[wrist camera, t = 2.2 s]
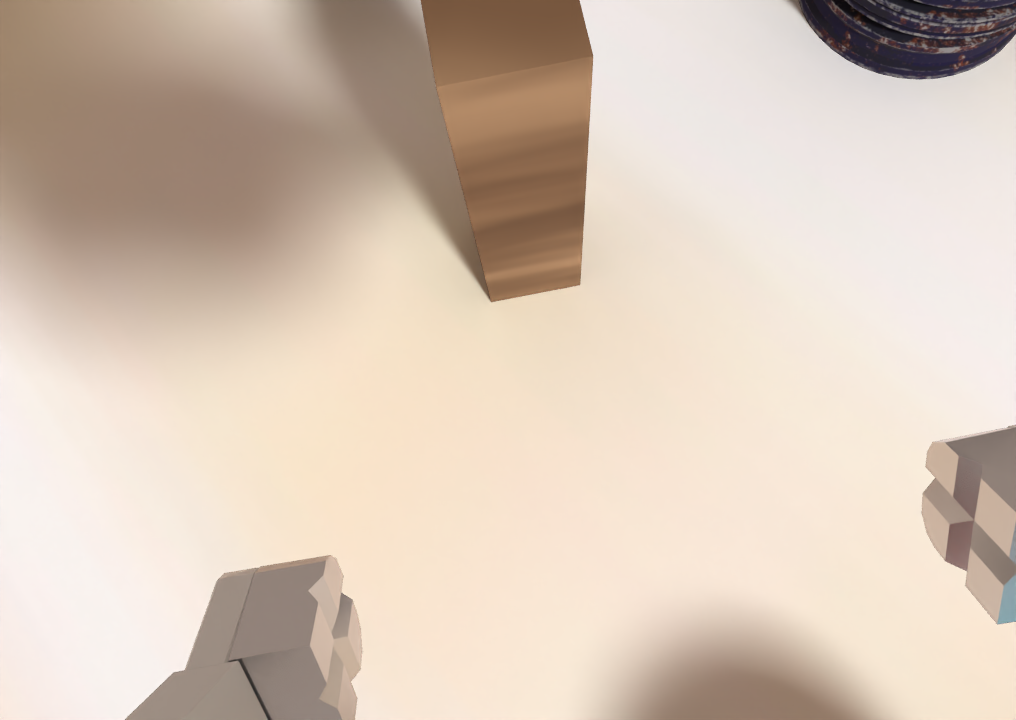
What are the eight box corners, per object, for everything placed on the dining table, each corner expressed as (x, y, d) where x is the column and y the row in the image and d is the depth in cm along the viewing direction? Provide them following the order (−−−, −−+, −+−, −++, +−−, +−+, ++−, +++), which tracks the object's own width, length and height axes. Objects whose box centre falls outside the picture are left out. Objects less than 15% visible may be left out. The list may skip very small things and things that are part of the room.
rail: (580, 284, 31) (593, 56, 17) (491, 302, 31) (436, 86, 18) (562, 204, 32) (561, -71, 18) (476, 221, 32) (413, -40, 19)
